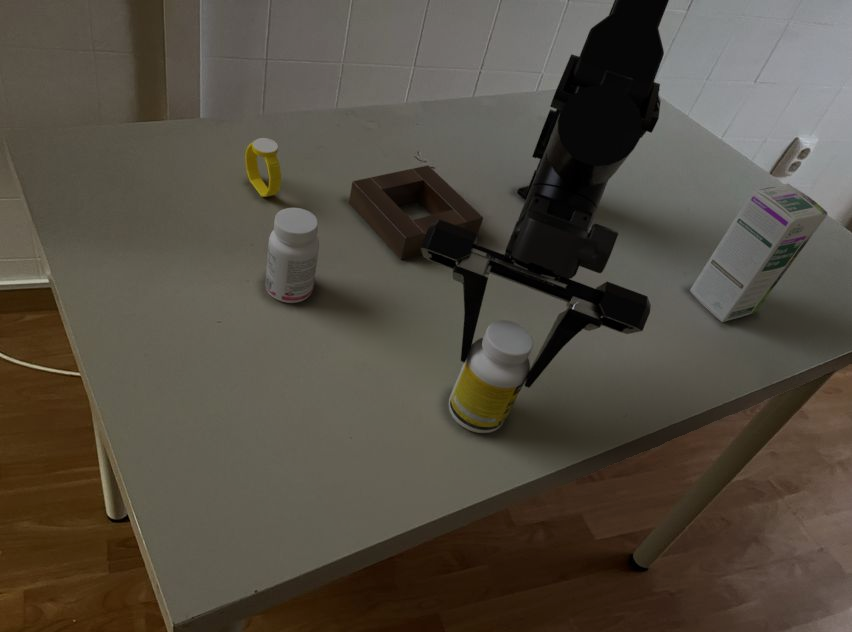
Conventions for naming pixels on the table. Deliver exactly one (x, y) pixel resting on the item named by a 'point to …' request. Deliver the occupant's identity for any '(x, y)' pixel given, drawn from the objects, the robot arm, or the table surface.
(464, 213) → the socket block
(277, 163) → the watch
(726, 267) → the syrup box
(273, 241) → the pill bottle
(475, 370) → the supplement bottle
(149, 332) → the table surface
